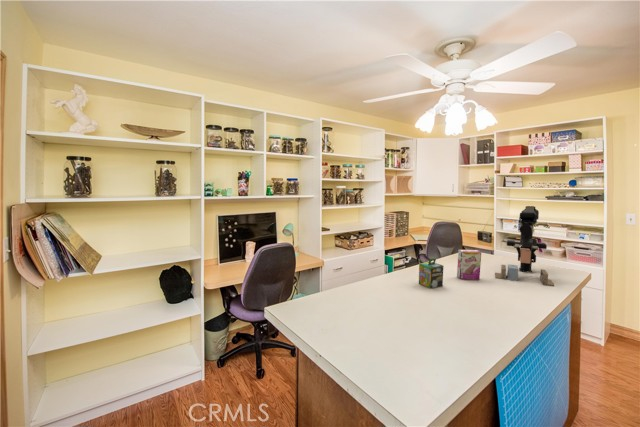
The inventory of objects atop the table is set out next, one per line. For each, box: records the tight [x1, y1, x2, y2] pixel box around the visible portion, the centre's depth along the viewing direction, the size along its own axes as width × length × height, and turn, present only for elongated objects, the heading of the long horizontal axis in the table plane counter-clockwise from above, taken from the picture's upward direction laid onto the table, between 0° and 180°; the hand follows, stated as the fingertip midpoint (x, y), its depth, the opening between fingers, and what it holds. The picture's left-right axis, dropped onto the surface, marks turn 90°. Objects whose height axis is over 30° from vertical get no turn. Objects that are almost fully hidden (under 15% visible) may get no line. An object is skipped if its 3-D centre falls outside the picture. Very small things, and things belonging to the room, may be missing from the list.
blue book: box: [506, 264, 519, 282], centre depth 167 cm, size 8×4×7 cm, turn 149°
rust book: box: [519, 248, 531, 264], centre depth 170 cm, size 8×4×7 cm, turn 149°
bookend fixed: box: [494, 264, 507, 280], centre depth 170 cm, size 10×5×6 cm, turn 149°
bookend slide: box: [539, 268, 555, 287], centre depth 159 cm, size 10×5×6 cm, turn 149°
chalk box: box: [418, 258, 444, 289], centre depth 157 cm, size 9×9×15 cm
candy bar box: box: [456, 249, 482, 281], centre depth 167 cm, size 11×5×16 cm, turn 84°
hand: (524, 258), depth 170 cm, fingers closed on rust book, 4 cm apart
